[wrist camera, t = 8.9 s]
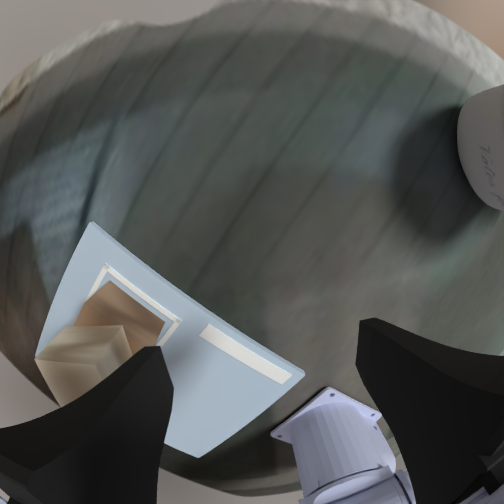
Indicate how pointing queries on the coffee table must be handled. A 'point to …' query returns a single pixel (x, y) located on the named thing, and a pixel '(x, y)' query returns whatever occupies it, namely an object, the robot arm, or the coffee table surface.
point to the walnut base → (121, 316)
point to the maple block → (82, 359)
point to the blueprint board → (179, 345)
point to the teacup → (483, 144)
